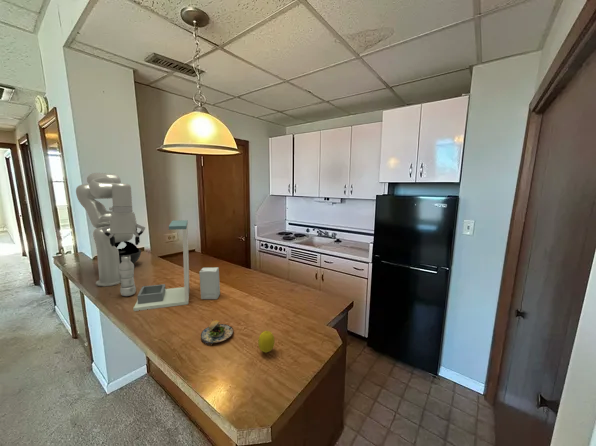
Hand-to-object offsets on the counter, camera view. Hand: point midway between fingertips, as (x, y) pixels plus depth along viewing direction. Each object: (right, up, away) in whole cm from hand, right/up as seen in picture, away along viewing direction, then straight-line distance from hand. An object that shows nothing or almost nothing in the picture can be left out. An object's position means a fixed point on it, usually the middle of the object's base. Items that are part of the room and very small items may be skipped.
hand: (125, 245), depth 120 cm
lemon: (+73, -34, -35) cm, 87 cm away
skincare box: (+39, -27, +5) cm, 48 cm away
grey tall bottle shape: (-1, -26, +4) cm, 26 cm away
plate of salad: (+53, -33, -26) cm, 68 cm away
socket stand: (+18, -27, +1) cm, 32 cm away
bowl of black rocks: (-31, -18, +44) cm, 57 cm away
